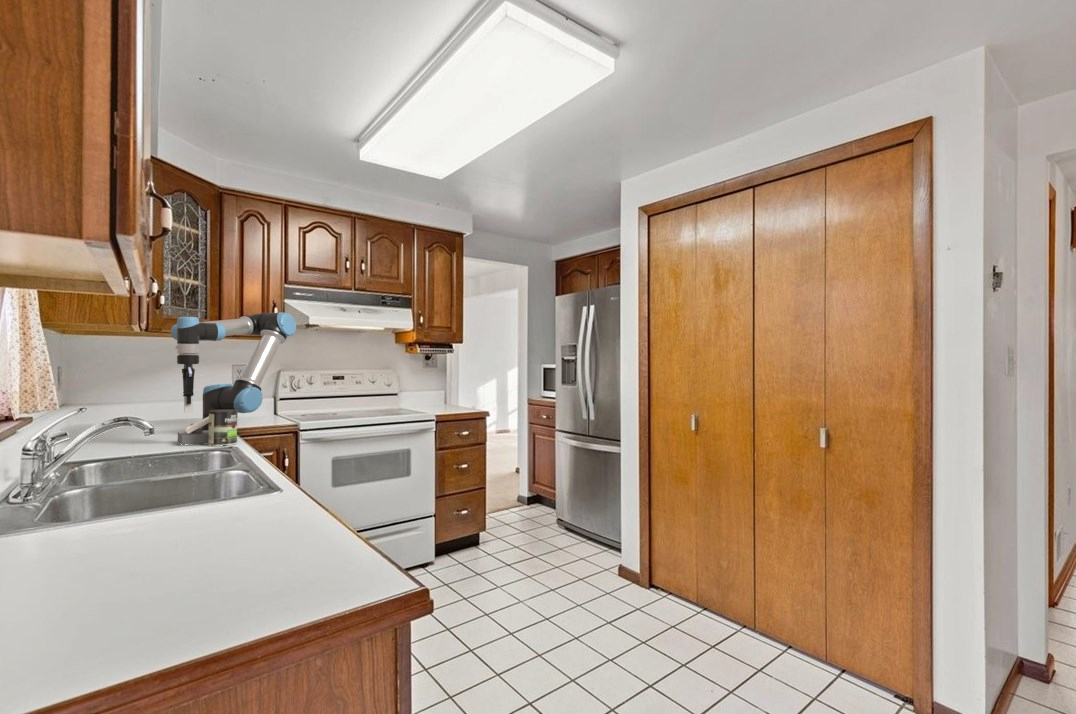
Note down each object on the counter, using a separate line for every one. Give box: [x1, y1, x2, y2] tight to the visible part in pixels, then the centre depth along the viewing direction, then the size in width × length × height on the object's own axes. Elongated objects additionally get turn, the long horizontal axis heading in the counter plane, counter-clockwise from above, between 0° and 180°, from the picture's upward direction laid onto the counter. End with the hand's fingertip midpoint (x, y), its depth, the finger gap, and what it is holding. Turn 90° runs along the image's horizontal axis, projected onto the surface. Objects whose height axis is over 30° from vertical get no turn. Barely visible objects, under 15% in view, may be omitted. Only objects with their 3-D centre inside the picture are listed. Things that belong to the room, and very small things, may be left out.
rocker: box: [183, 417, 209, 434], centre depth 217 cm, size 4×10×2 cm, turn 131°
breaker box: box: [177, 428, 209, 446], centre depth 219 cm, size 13×12×6 cm
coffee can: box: [207, 409, 238, 447], centre depth 214 cm, size 10×10×14 cm
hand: (188, 411), depth 215 cm, fingers closed
